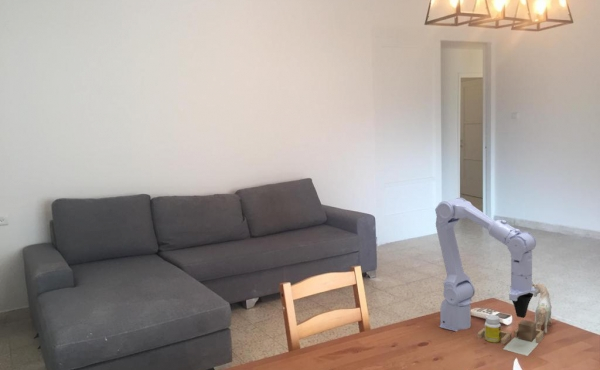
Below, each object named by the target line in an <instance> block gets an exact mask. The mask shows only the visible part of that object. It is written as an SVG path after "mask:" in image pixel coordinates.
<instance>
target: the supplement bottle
mask: <svg viewBox="0 0 600 370" xmlns="http://www.w3.org/2000/svg"><path fill="white" fill-rule="evenodd" d="M500 322H501V319H500V316H499V315H495V314H487V315H486V316H485V322H484V327H485V335H484V340H485V341H486V342H488V343H492V344H498V343H501V339H502V337H501V331H502V329H501V328H502V324H501V323H500Z"/></svg>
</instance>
